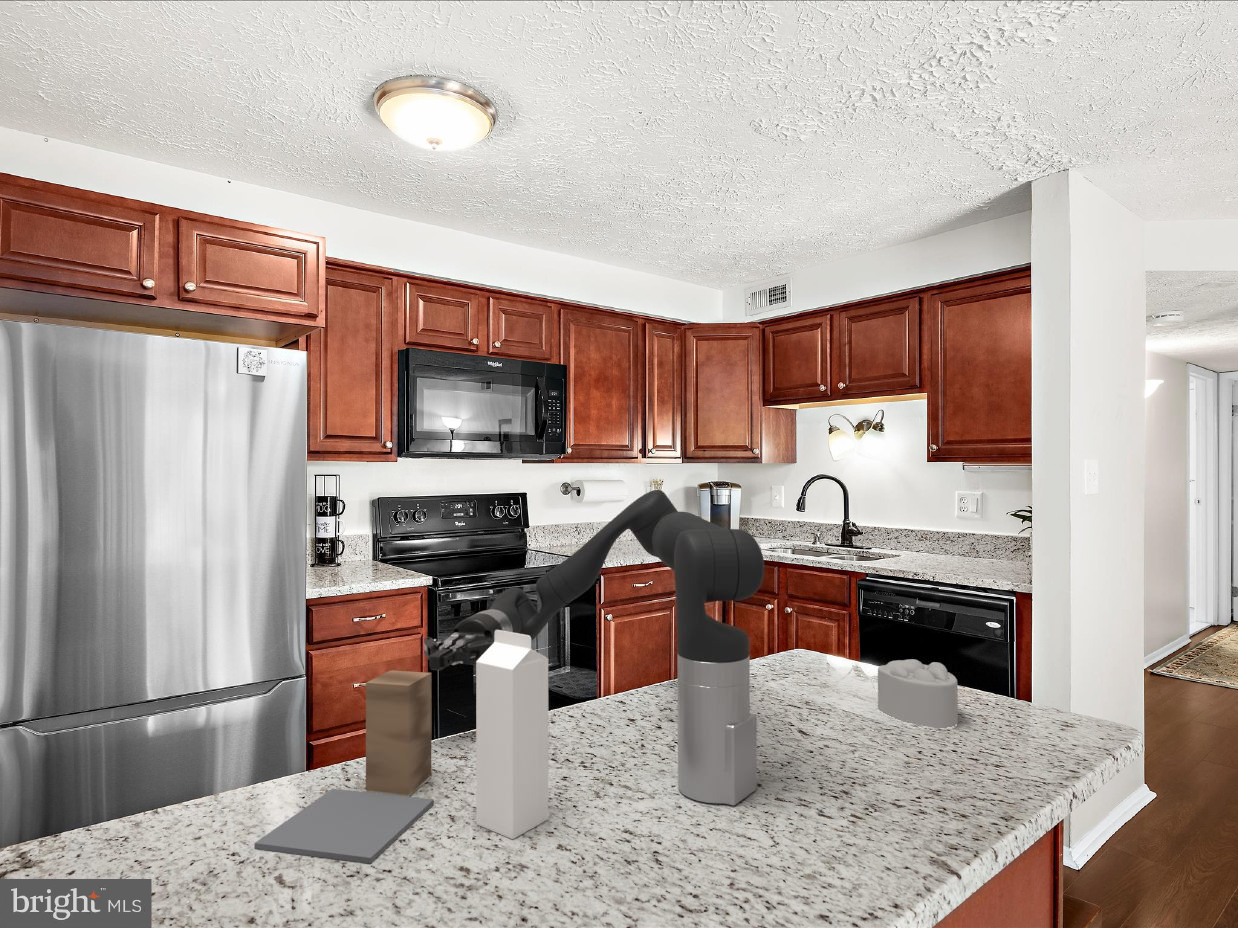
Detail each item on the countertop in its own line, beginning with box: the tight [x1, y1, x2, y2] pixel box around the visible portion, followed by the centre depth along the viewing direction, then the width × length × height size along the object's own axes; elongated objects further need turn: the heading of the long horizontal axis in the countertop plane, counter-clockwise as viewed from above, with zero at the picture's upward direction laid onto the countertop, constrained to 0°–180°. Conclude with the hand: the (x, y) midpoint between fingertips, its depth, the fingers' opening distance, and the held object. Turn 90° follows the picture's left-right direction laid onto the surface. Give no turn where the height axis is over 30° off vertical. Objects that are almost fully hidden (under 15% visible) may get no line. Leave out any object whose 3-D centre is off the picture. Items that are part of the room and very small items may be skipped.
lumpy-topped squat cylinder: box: [877, 658, 959, 728], centre depth 121 cm, size 10×13×9 cm
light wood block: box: [365, 670, 432, 797], centre depth 95 cm, size 6×6×14 cm
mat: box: [253, 788, 435, 864], centre depth 84 cm, size 14×14×1 cm
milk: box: [475, 630, 549, 840], centre depth 85 cm, size 6×6×22 cm
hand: (434, 662), depth 105 cm, fingers closed
